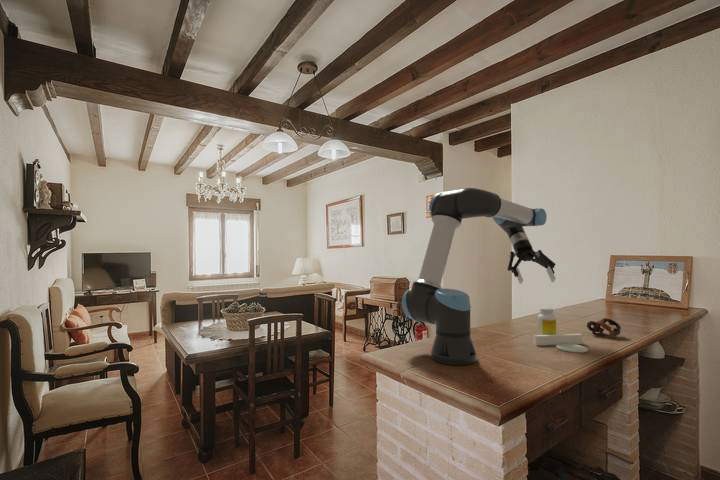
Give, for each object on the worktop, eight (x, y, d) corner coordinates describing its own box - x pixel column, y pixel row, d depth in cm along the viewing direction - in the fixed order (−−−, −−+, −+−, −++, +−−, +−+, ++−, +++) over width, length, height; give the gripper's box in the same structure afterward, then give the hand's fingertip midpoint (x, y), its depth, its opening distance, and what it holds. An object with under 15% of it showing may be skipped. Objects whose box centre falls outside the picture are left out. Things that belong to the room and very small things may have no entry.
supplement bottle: (560, 341, 143) (559, 309, 143) (546, 343, 141) (545, 310, 141) (548, 337, 149) (547, 306, 149) (534, 339, 148) (533, 307, 148)
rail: (535, 345, 138) (535, 336, 138) (533, 344, 140) (533, 335, 140) (582, 343, 140) (582, 334, 140) (579, 342, 141) (579, 333, 141)
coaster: (567, 353, 128) (567, 351, 128) (550, 345, 138) (550, 343, 138) (594, 352, 129) (594, 350, 129) (575, 344, 139) (575, 342, 139)
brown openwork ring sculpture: (607, 333, 157) (617, 319, 153) (617, 348, 148) (627, 333, 145) (579, 326, 158) (588, 311, 154) (587, 340, 150) (597, 325, 146)
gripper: (545, 248, 170) (564, 284, 156) (492, 251, 171) (506, 287, 156) (550, 237, 165) (570, 274, 150) (496, 240, 165) (510, 277, 151)
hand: (537, 281), depth 153 cm, fingers open, 13 cm apart
